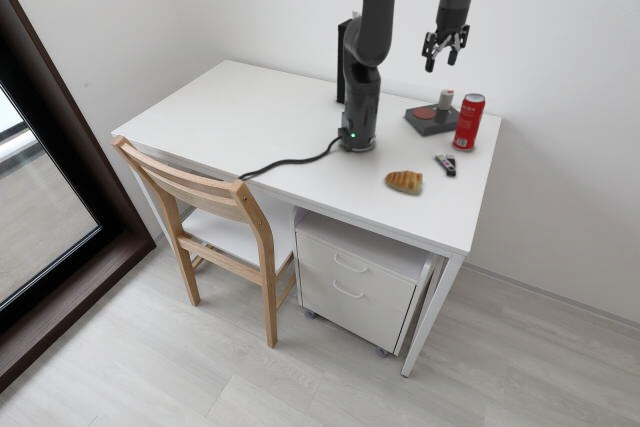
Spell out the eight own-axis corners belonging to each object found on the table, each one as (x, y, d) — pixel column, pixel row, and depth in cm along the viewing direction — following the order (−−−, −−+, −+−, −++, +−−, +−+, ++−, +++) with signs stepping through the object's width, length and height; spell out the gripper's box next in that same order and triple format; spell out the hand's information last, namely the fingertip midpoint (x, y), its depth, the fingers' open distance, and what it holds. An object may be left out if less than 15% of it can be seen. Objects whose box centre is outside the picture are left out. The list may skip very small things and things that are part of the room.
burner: (419, 120, 104) (420, 120, 104) (409, 110, 108) (409, 109, 108) (439, 117, 105) (439, 116, 105) (428, 107, 110) (428, 106, 110)
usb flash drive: (455, 176, 89) (456, 173, 88) (434, 174, 90) (435, 171, 89) (454, 157, 95) (455, 154, 94) (434, 155, 96) (435, 152, 95)
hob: (423, 136, 103) (425, 127, 101) (402, 116, 112) (404, 107, 110) (468, 127, 106) (471, 118, 104) (445, 108, 115) (447, 99, 113)
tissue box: (355, 107, 116) (361, 16, 96) (336, 102, 119) (337, 12, 99) (366, 98, 121) (373, 9, 101) (347, 93, 124) (350, 6, 104)
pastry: (382, 190, 86) (384, 178, 83) (386, 174, 90) (388, 162, 88) (420, 196, 84) (423, 184, 81) (422, 179, 88) (425, 168, 86)
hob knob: (441, 111, 108) (445, 95, 104) (435, 105, 110) (438, 89, 106) (452, 109, 108) (457, 93, 105) (445, 103, 111) (449, 87, 107)
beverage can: (474, 152, 97) (492, 103, 86) (450, 150, 98) (465, 101, 87) (471, 141, 101) (488, 93, 90) (449, 139, 102) (463, 91, 91)
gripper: (463, -5, 90) (447, 58, 101) (422, 4, 85) (411, 69, 96) (486, 2, 85) (467, 67, 97) (445, 11, 80) (430, 79, 92)
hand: (439, 68), depth 96 cm, fingers open, 8 cm apart
